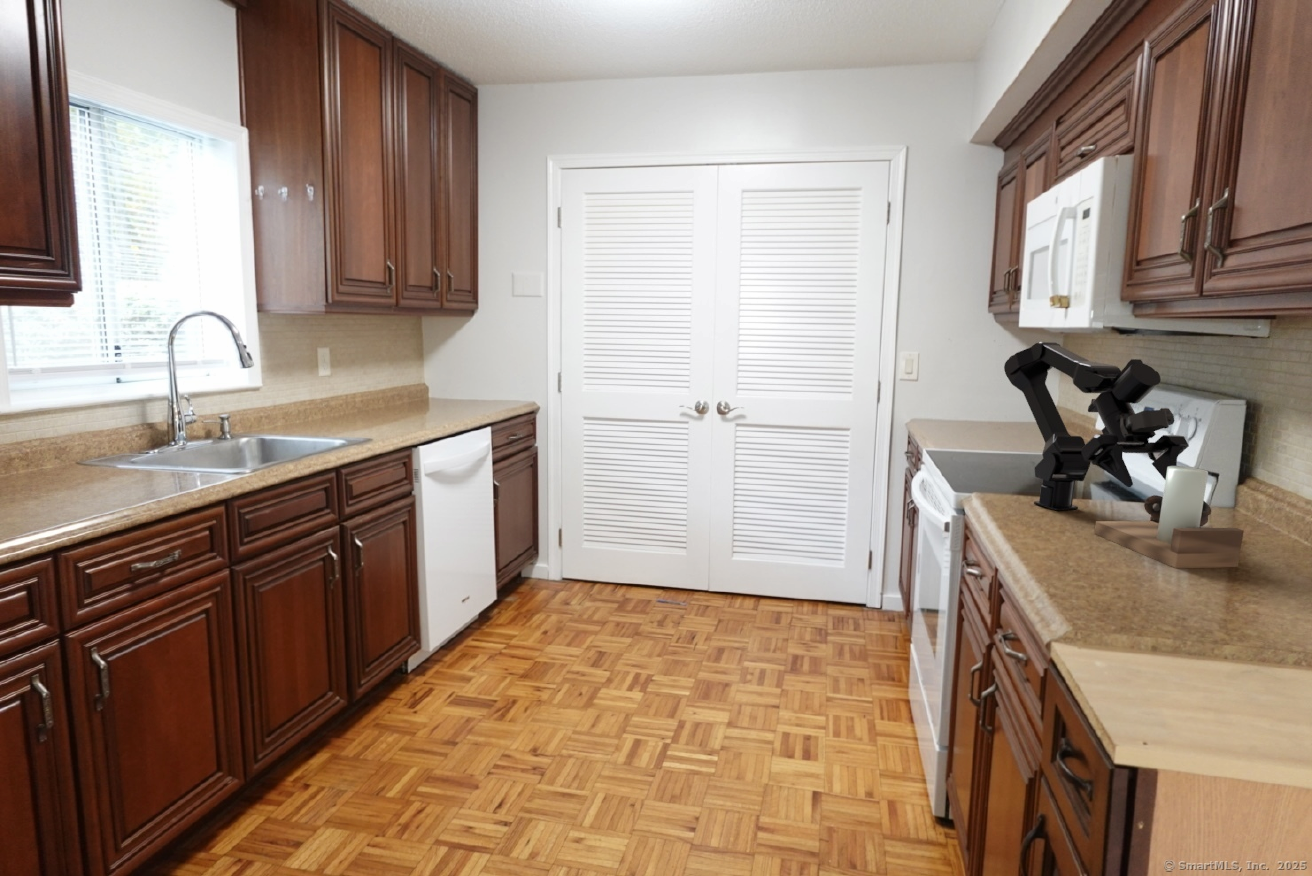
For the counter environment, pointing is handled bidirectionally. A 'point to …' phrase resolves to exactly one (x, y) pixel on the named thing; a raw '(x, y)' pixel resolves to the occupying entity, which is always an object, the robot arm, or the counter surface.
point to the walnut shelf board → (1156, 547)
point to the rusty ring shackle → (1158, 501)
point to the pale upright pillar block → (1181, 500)
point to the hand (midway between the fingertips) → (1153, 486)
